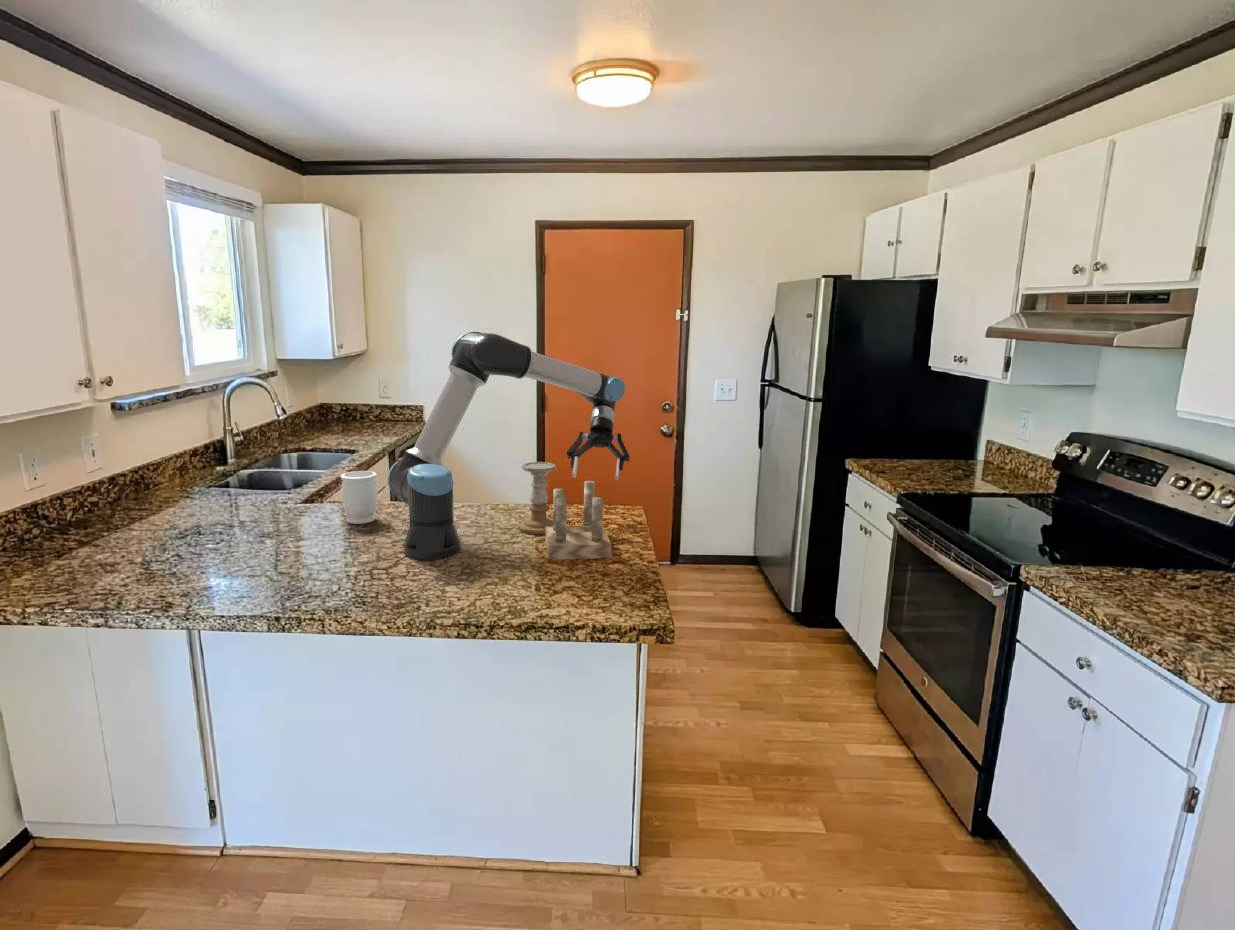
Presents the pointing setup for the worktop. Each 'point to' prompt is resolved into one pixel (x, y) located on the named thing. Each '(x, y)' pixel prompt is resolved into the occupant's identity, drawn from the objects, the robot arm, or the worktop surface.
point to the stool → (576, 533)
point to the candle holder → (537, 498)
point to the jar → (359, 496)
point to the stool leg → (588, 501)
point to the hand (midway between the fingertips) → (595, 477)
